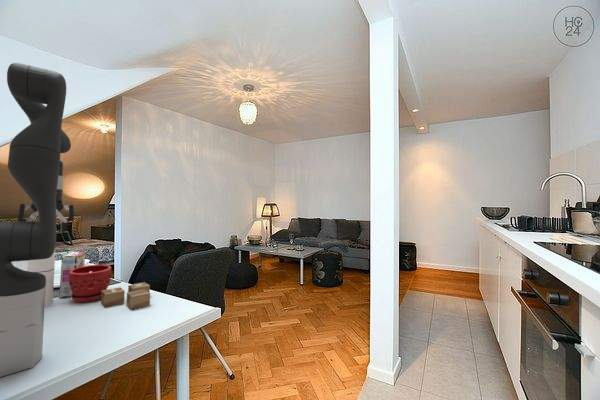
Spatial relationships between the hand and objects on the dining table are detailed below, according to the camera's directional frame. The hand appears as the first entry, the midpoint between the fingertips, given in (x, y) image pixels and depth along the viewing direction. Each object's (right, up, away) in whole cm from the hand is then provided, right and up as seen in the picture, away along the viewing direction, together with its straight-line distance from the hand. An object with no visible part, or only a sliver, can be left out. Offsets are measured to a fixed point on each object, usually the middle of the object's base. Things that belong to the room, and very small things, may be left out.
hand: (46, 233), depth 93 cm
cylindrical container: (-5, -27, +3) cm, 27 cm away
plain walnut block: (+30, -28, +4) cm, 41 cm away
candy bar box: (-5, -27, +16) cm, 32 cm away
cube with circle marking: (+25, -28, +13) cm, 39 cm away
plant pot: (+7, -27, +11) cm, 30 cm away
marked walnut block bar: (+19, -27, +6) cm, 34 cm away
